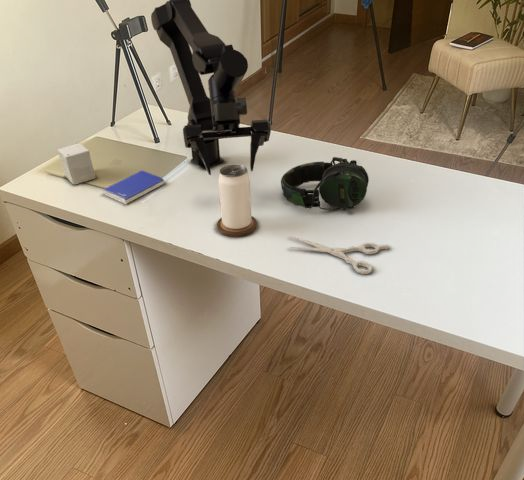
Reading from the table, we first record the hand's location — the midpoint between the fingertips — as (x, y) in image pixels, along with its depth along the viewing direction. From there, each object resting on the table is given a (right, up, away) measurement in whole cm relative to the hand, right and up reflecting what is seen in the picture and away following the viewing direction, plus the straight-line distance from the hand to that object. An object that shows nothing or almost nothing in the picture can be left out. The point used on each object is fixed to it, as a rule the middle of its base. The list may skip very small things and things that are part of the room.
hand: (231, 172), depth 116 cm
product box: (-40, +5, +20) cm, 45 cm away
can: (+1, -11, +1) cm, 11 cm away
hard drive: (-25, 0, +15) cm, 29 cm away
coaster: (+1, -12, +1) cm, 12 cm away
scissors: (+22, -19, -7) cm, 30 cm away
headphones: (+21, -4, +9) cm, 23 cm away
